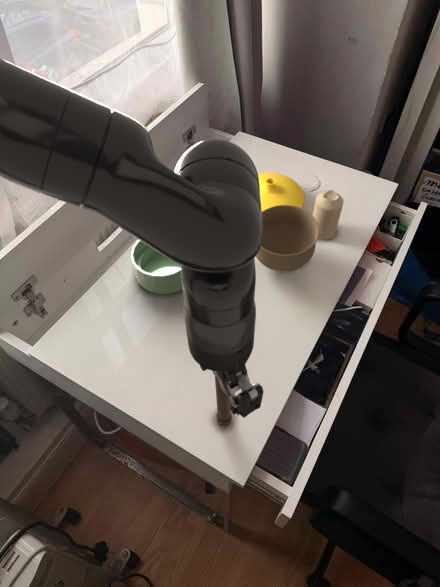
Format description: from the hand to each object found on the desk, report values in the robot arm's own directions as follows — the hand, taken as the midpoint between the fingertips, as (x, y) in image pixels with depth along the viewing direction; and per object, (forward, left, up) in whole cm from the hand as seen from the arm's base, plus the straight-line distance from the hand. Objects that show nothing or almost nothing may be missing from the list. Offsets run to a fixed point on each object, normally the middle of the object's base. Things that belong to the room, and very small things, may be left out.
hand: (222, 387), depth 60 cm
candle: (+41, +23, -13) cm, 49 cm away
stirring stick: (0, 0, -12) cm, 12 cm away
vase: (+36, +36, -13) cm, 53 cm away
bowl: (+28, +21, -13) cm, 38 cm away
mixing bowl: (+7, +32, -12) cm, 35 cm away
